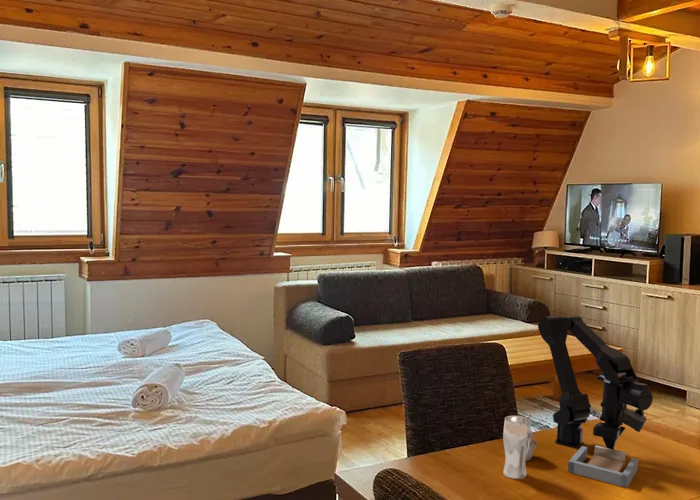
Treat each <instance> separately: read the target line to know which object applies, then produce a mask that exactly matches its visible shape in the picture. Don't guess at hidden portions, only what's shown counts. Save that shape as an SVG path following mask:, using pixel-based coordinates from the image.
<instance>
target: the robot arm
mask: <svg viewBox="0 0 700 500" xmlns="http://www.w3.org/2000/svg"><path fill="white" fill-rule="evenodd" d="M537 329H538V331H539V334H540V335H541V338H542V339H543V341H545V343H546V344H547V345H548V346H549V350H550V353H551V358H552V361H553V365H554V368H555V373H556V376H557V380H558V384H559V387H560V392H561V394H560V397H559V401H558V403H559V409H558V410H557V411H555V413H554V414H553V415H552V419H553V422H554V423H556V424H557V428H556V429H557V431H556V432H557V433H556V439H555V440H554V443H556V444H559V445H564V446H567V447H571V448H576V449H577V448H578V447H579V446H580V445H581V444H582V443H583V438H584V437H583V435H584V433H583V432H584V429H583V428H582V424H586V422H587V420H588V418H589V417H590V415H591V414H592V410H591V408H592V405H591V403H590V400H589V396H588V393H583V392H582V391H580V389H579V386H578V383H577V379H576V376H575V372H574V369H573V365H572V362H571V361H572V360H571V358H570V355H569V354H570V353H569V350H568V347H567V343H566V342H567V338H568V334H569V332H570V334H572V335H573V337H575V338H576V339H577V340H578V341H579V343H581V344H582V346H584V347H585V349H586V350H587V351H588V352H590V354H591V355H593V357H594V358H595V364H596V365H597V367H598V368H599V369H600V371H601V372H602V373H601V374H600V375H599V376H597V377H596V379H597V380H598V381H602V383H603V384H602V401H601V402H600V407H601V415H600V416H599V421H600V422H597V423H596V424H595V425H594V427H593V428H592V435H593V436H594V437H599V438H602V439H603V442H604V444H605V448H609V449H613V450H615V447H616V443H617V441H618V439H619V437H620V436H621V435H622V433H624V431H625V430H626V427H625V426H623V425H626V426H627V427H629V428H631V429H633V430H634V431H635V432H638V433H640V432H641V431H642V429H643V427H644V425H645V423H646V421H647V420H648V419H647V416H645V411H647V410H648V409H650V407H651V406H652V403H653V401H654V396H653V393H652V391H651V390H650V389H649V385H648V384H647V383H641V382H639V379H638V377H637V376H638V375H637V373H636V372H635V370H634V369H633V365H632V364H631V360H630V358H629V357H628V356H627V355H626V354H624V353H623V352H622V351H620V350H618V349H616V348H614V347H611V346H610V345H609V344H607V343H606V342H605V341H604V340H603V339H602V338H601V337H600V336H599V335H598V334H597V333H596V332H595V331H594V330H593V329H591V328H590V326H589V325H587V324H586V323H585V322H584V321H583V318H582V317H581V316H579V315H572V316H566V317H563V316H561V315H552V316H551V315H550V316H542V317H541V318H540V319H539V321H538V322H537ZM568 331H569V332H568ZM628 406H630V407H634V408H635V409H629V408H628Z"/></svg>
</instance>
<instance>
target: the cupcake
mask: <svg viewBox="0 0 700 500" xmlns="http://www.w3.org/2000/svg"><path fill="white" fill-rule="evenodd" d="M537 446H538V441H537V440H536V439H535V434H534V433H533V431H532V430H531V429H530V444H529V449H528V453H527V457H526V462H528V461H531V459H532V458H533V455H534V451H535V449H536V447H537Z"/></svg>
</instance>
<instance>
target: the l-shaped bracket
mask: <svg viewBox="0 0 700 500" xmlns="http://www.w3.org/2000/svg"><path fill="white" fill-rule="evenodd" d="M593 452H594V454H593V456H592V457H591V459H589V461H587V464H590V465H594V466H598V467H602V468H606V469H609V470H613V471H617V472H621V473H622V470H623V468H624V467H625V466H626V452H625V451H621V450H617V449H614V450H613V449H609V448H607V447H606V446H605V447H604V446H601V445H594V451H593Z"/></svg>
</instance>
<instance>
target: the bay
mask: <svg viewBox="0 0 700 500" xmlns="http://www.w3.org/2000/svg"><path fill="white" fill-rule="evenodd" d="M587 458H588V446H584V445H581V446H580V448H579V449H578V450H577V451H576V452H575V453H574V454H573V456H572V457H571V458H570V459H569V460H568V463H567V472H568V473H571V474H575V475H579V476H582V477H586V478H590V479H593V480H597V481H600V482H601V481H602V482H605V483H607V484H612V485H616V486H620V487H623V488H628V487H629V485H630V483H631V482H632V480H633V478H634V476H635V475H636V474H637V471H638V470H639V469H638V467H639V459H638V458H633V457H632V458H631V459H630V461H629V462H628V464H627V466H626V468H624V471H623V472H622V471H621V472H617V471H613V470H609V469H606V468H602V467H598V466H594V465H590V464H588V463H585V462H584V461H585V460H587Z"/></svg>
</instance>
